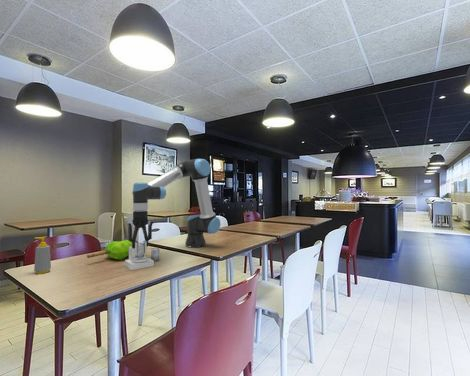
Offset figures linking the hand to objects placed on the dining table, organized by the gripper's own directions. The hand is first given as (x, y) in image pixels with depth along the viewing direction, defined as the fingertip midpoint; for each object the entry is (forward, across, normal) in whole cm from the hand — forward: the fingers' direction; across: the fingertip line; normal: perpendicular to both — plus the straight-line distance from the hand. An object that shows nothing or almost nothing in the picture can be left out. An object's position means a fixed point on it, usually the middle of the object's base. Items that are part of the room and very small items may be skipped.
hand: (140, 253), depth 142 cm
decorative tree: (+7, +7, -26) cm, 27 cm away
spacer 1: (+2, 0, 0) cm, 2 cm away
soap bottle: (+7, +42, -22) cm, 48 cm away
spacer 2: (+7, -11, -6) cm, 15 cm away
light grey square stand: (+7, 0, -2) cm, 7 cm away
